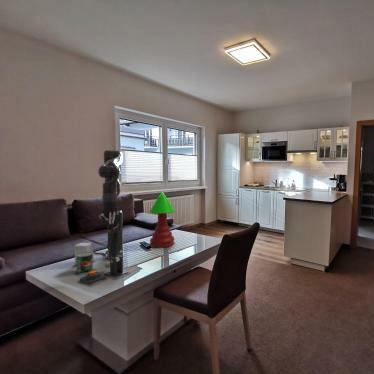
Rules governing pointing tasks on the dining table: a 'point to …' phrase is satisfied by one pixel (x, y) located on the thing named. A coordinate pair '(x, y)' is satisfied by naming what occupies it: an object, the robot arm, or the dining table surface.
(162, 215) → the table lamp
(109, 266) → the switch
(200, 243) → the dining table surface
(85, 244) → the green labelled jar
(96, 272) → the power button
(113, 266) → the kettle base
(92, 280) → the power block
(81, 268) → the canned tomato
